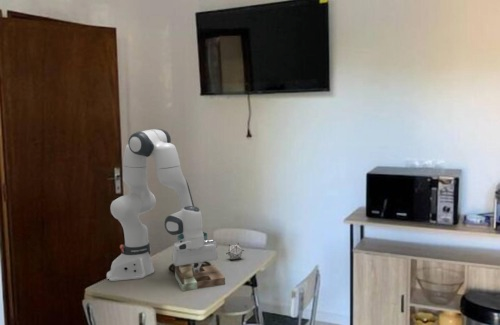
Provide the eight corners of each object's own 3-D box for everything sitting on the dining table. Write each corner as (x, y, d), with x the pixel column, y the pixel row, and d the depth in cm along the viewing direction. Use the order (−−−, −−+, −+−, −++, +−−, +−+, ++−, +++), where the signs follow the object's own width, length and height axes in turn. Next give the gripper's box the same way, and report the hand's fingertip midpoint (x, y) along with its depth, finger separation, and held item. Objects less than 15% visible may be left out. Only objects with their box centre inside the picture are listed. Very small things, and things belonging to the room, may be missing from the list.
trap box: (182, 291, 217) (181, 277, 216) (175, 277, 235) (174, 264, 234) (225, 284, 222) (224, 271, 222) (214, 271, 240) (214, 259, 240)
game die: (238, 267, 256) (241, 255, 249) (222, 261, 257) (225, 249, 250) (244, 254, 262) (247, 242, 256) (229, 248, 264) (231, 236, 257)
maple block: (182, 279, 223) (180, 268, 222) (180, 275, 228) (178, 265, 227) (193, 276, 224) (191, 266, 224) (191, 273, 229) (189, 262, 228)
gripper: (214, 237, 232) (217, 266, 234) (170, 243, 226) (173, 273, 227) (218, 240, 226) (220, 270, 228) (173, 247, 220) (175, 277, 221)
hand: (196, 272), depth 227 cm, fingers closed
